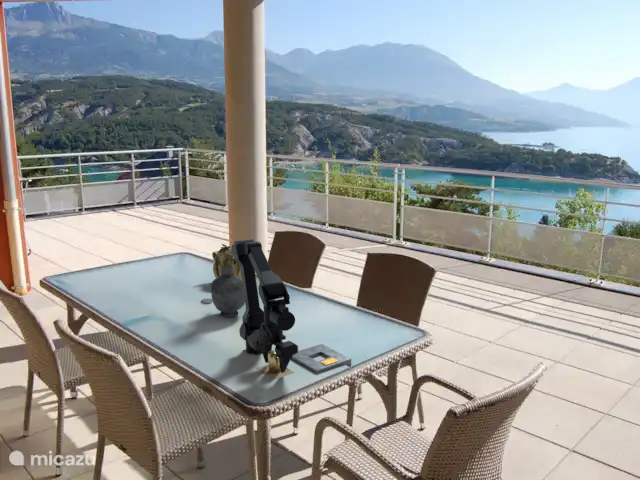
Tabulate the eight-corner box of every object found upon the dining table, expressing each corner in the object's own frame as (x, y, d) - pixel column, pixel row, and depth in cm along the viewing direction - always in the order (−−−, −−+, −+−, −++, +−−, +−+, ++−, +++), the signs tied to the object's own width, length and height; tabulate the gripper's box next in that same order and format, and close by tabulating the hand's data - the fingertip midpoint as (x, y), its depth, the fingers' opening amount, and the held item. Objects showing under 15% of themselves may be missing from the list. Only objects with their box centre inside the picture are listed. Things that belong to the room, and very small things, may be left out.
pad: (255, 371, 173) (255, 368, 173) (277, 364, 178) (277, 361, 178) (272, 382, 166) (272, 379, 165) (294, 375, 170) (294, 372, 170)
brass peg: (266, 370, 172) (265, 352, 171) (276, 366, 174) (276, 349, 173) (272, 374, 169) (272, 356, 168) (283, 370, 171) (283, 353, 170)
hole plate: (288, 359, 182) (288, 353, 181) (321, 349, 190) (321, 343, 190) (316, 376, 169) (316, 369, 169) (351, 364, 177) (351, 358, 177)
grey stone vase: (225, 322, 218) (221, 249, 212) (206, 309, 233) (202, 241, 227) (249, 316, 224) (246, 245, 218) (229, 305, 239) (226, 238, 233)
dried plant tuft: (203, 282, 275) (201, 253, 272) (229, 275, 288) (227, 247, 285) (232, 290, 261) (231, 260, 258) (258, 282, 274) (257, 253, 271)
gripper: (235, 317, 171) (237, 364, 174) (266, 335, 156) (268, 385, 159) (266, 310, 177) (267, 355, 181) (298, 326, 163) (299, 374, 166)
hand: (274, 367), depth 171 cm, fingers open, 9 cm apart
